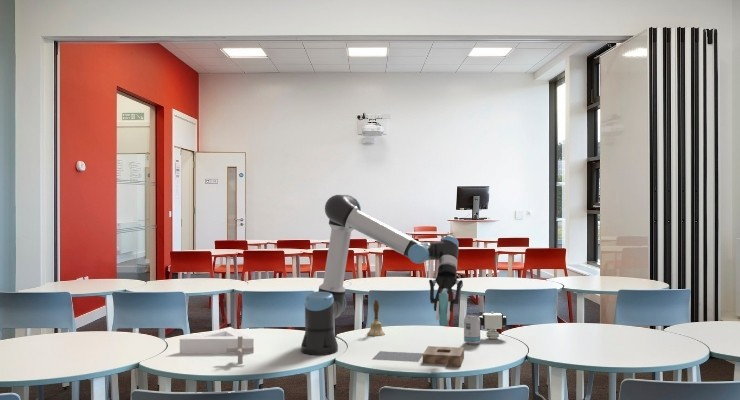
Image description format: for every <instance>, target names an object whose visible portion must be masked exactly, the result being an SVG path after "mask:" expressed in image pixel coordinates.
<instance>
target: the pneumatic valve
mask: <svg viewBox="0 0 740 400" xmlns="http://www.w3.org/2000/svg"><path fill="white" fill-rule="evenodd" d="M478 317H479V319H480V327H481V328H482V329H483V330H487V331H486V335H485V336H486V338H488V339H489V340H498V338H500V332H499V331H497V329H498V330H504V328H505V327H506V326H507V325H508V324H507V323H508V322H507V316H506V315H504V314H503V313H502V312H501V313H499V312H494V311H491V312H485V313H484V312H482V313H481V315H478Z"/></svg>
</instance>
